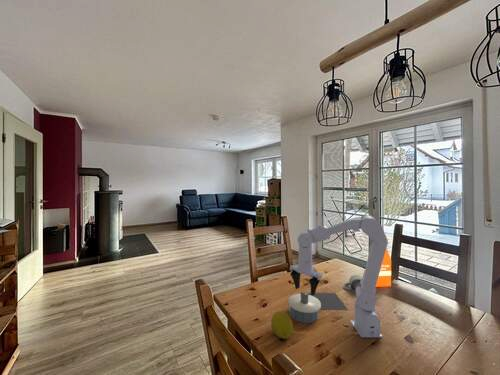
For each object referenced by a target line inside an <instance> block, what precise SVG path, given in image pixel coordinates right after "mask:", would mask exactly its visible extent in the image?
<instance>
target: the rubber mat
mask: <svg viewBox="0 0 500 375" xmlns="http://www.w3.org/2000/svg"><path fill="white" fill-rule="evenodd" d="M307 293H308V295H311V292H307ZM311 296H312V295H311ZM313 297H315V298H317V299H318V300H319V301H320V302H321V308H320V310H319V311H323V310H324V311H331V310H332V311H348V310H349V309H348V308H347V306H346V305H345V304H344V302H343V301H342V300H341V299H340V298H339V296H338V294H337V293H335V292H315V294H314V295H313Z"/></svg>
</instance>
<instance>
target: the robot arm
mask: <svg viewBox="0 0 500 375" xmlns="http://www.w3.org/2000/svg"><path fill="white" fill-rule="evenodd" d="M350 230H352V231H356V232H359V233H360V231H361V232H363V233H364V235H366V236H367V237H369V239H370V241H371V245H370V249H369V253H368V256H367V261H366V265H365V267H364V270H363V271H364V272H363V275H362V277H361V278H362V279H361V281H360V284H359V285H358V286H357V287H356V289H355V290H354V291H355V294H356V295H355V296H356V300H355V301H354V317H353V318H354V319H353V320H350V321H349V322H350V323H351V324H352V327H354V328H355V330H356V331H357V333H358V335H359V336H360V337H361V338H383V334H382V333H381V320H380V317H379V316H378V313H377V311H376V305H377V303H376V298H375V297H376V295H377V294H376V291H377V289H376V288H377V287H376V283H377V280H378V276H379V273H380V269H381V266H382V262H383V259H384V255H385V252H386V248H387V247H388V244H389V241H388V238H387V235H386V234H385V230H384V227H383V225H381V224H380V222H379V221H377V219H376V218H374V216H372V215H370V214H364V215H361V216H356V217H352V218H350V219H346V220H344V221H341V222H339V223H336V224H334V225H331V226H326V225H321V224H319V225H317V227H315V228H312V229H310V228H308V229H306V230H305V231H302V232H300V234H299V235H298V236H297V243H298V265H293V264H292V265H289V271H290V273H289V274H290V276H291V278H292V280H293V282H294V284H293V285H294V287H295V288H294V289H295V290H298V289H300V287H301V286H300V285H301V284H300V283H301V275H305V276H308V277H310V279H309V283H310V293H311V295H312V296H313V295H314V294H315V293H317V292H316V291H317V288H318V286H319V283H320V282H321V281H322V280H323V274H322V273H319V272H318V271H317V272H316V271H314V270H312V268H313V246H312V245H313V244H316V243H321V242H324V241H327V240H329V239H330V238H331V236H333V235H335V234H340V233H343V232H346V231H350ZM311 277H312V278H311Z"/></svg>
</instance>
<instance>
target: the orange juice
mask: <svg viewBox="0 0 500 375" xmlns="http://www.w3.org/2000/svg"><path fill="white" fill-rule="evenodd" d="M389 253H390V252H389V251H388V249H387V248H386V252H385V255H384V259H383V262H382V266H381V269H380V273H379V276H378V280H377V283H376V288H381V287H391V286H392V258H391V256H390V254H389Z"/></svg>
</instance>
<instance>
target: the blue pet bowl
mask: <svg viewBox="0 0 500 375" xmlns="http://www.w3.org/2000/svg"><path fill="white" fill-rule="evenodd" d="M288 306H289V309H288V310H289V317H290V318H291V319H293V320H294V321H295V322H299V323H302V324H311V323H315V322H317V321H318V318H319V311H320V310H318V311H317V312H313V313H304V312H300V311H297V310H295V309H293V308H292V307H291V306H290V305H288Z"/></svg>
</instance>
